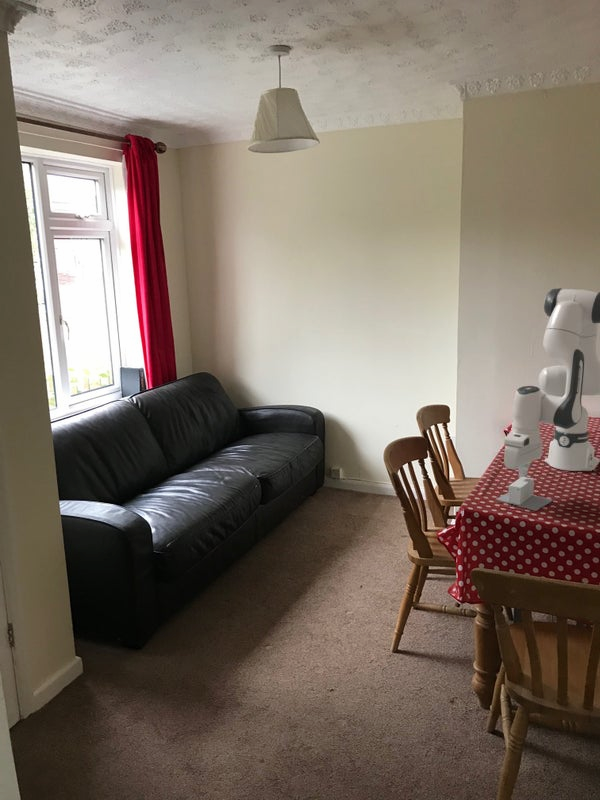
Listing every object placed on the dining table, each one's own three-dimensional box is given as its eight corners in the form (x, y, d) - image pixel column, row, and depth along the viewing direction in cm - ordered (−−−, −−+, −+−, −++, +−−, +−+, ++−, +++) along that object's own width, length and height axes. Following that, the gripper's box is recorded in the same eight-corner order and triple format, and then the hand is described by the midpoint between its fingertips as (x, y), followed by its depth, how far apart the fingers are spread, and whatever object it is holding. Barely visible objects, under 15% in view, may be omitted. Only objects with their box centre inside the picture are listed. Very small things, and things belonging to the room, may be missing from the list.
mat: (512, 491, 230) (512, 490, 230) (552, 501, 220) (552, 499, 220) (495, 500, 221) (495, 499, 221) (535, 510, 212) (536, 509, 212)
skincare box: (521, 476, 226) (508, 485, 216) (534, 478, 223) (521, 487, 214) (520, 493, 227) (507, 502, 218) (533, 495, 224) (520, 505, 215)
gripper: (530, 428, 229) (528, 466, 232) (501, 439, 215) (499, 480, 217) (548, 431, 224) (545, 470, 227) (520, 443, 210) (517, 485, 213)
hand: (522, 475), depth 222 cm, fingers closed
